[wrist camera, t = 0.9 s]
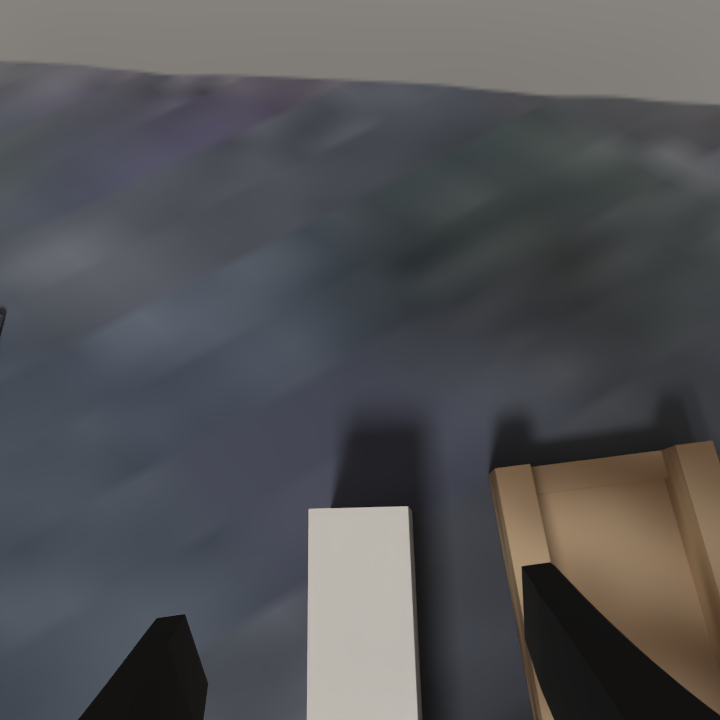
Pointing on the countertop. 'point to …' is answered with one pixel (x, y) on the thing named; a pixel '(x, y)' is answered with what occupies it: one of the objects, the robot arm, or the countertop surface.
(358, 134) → the countertop surface
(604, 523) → the oak rack
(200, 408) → the countertop surface
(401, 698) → the light grey rectangular block
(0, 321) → the chopping board
